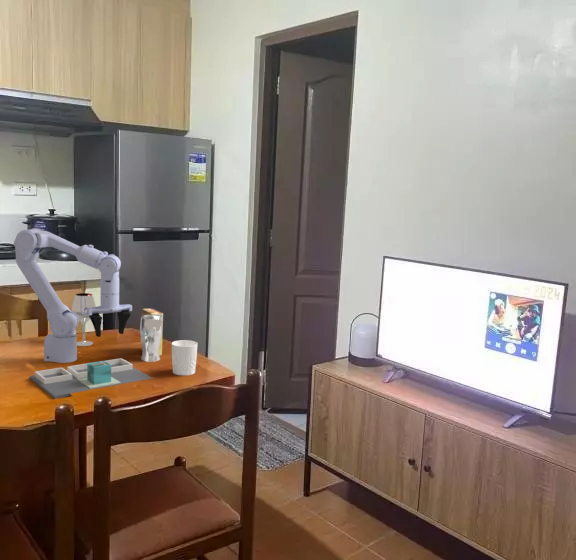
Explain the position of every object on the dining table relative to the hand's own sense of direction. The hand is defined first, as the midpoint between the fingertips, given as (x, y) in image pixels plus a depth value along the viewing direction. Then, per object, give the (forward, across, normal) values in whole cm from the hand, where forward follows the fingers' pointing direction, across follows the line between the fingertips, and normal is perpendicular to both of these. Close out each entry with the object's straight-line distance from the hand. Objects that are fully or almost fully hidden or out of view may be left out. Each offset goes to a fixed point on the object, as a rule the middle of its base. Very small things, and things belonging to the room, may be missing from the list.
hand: (109, 334), depth 195 cm
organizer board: (+9, -11, -13) cm, 19 cm away
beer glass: (+10, +12, -5) cm, 16 cm away
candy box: (+10, +16, +2) cm, 19 cm away
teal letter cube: (+8, -11, -18) cm, 23 cm away
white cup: (+10, +14, -23) cm, 28 cm away
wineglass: (+10, +2, +26) cm, 28 cm away
